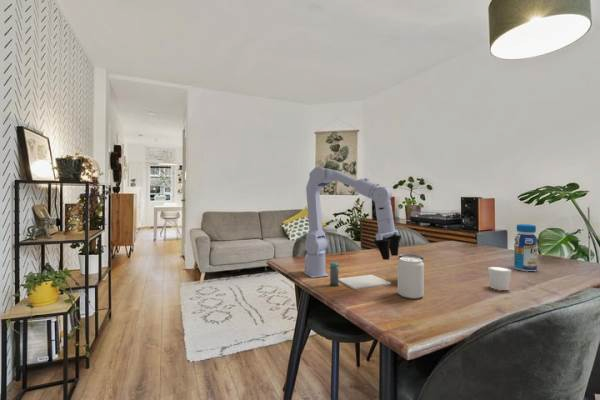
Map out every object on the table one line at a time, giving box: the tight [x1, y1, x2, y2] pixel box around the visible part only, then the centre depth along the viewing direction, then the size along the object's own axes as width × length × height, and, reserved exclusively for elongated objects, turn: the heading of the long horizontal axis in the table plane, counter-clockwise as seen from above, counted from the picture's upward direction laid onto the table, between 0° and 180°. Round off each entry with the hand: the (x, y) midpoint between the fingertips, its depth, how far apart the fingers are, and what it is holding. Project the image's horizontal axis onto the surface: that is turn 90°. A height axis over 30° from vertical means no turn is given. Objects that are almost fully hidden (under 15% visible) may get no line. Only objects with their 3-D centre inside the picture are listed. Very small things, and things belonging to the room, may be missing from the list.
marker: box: [329, 261, 340, 287], centre depth 108 cm, size 3×3×8 cm
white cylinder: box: [487, 266, 512, 291], centre depth 106 cm, size 7×7×7 cm
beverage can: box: [397, 257, 425, 300], centre depth 98 cm, size 8×8×12 cm
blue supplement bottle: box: [513, 223, 539, 272], centre depth 132 cm, size 8×8×20 cm
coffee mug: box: [398, 252, 424, 263], centre depth 114 cm, size 12×9×10 cm
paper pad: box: [338, 274, 392, 290], centre depth 112 cm, size 12×16×1 cm
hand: (390, 257), depth 107 cm, fingers open, 7 cm apart
